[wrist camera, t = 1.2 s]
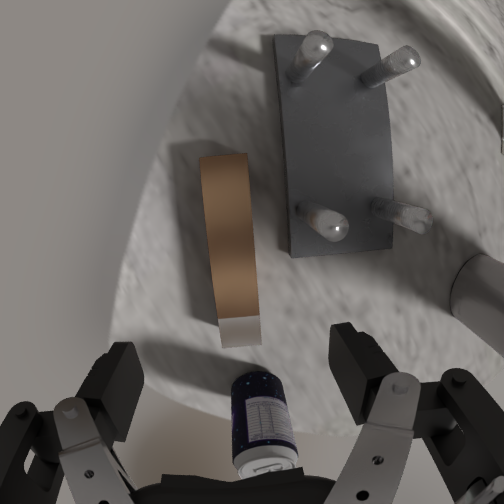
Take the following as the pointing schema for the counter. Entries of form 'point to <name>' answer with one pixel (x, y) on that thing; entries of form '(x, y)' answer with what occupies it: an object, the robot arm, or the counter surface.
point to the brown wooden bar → (231, 247)
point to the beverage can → (261, 426)
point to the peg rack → (340, 144)
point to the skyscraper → (503, 150)
